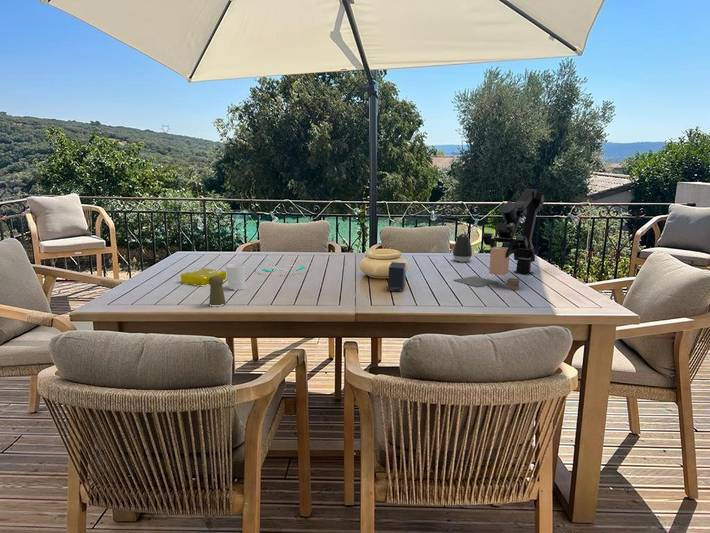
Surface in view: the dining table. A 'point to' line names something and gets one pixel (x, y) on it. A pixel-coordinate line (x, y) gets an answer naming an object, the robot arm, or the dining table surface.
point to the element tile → (201, 276)
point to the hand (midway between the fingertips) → (498, 256)
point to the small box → (396, 276)
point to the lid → (281, 268)
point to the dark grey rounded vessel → (462, 248)
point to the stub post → (512, 284)
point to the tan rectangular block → (499, 261)
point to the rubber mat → (476, 281)
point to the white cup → (236, 276)
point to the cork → (216, 290)
